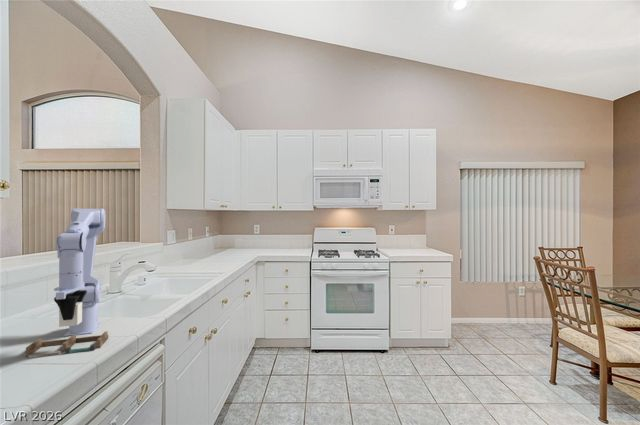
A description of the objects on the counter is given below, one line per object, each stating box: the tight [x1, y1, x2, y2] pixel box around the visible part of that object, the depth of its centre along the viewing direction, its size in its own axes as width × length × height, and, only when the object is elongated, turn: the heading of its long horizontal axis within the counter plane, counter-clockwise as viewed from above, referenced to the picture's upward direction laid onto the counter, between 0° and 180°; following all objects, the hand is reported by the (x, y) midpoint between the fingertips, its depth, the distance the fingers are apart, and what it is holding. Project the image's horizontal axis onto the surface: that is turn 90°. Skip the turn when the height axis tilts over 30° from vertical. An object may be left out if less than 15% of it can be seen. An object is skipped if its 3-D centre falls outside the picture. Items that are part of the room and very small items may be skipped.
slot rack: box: [25, 330, 109, 359], centre depth 94 cm, size 9×18×2 cm, turn 109°
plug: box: [58, 302, 82, 328], centre depth 94 cm, size 4×4×7 cm
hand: (71, 317), depth 94 cm, fingers closed on plug, 3 cm apart
